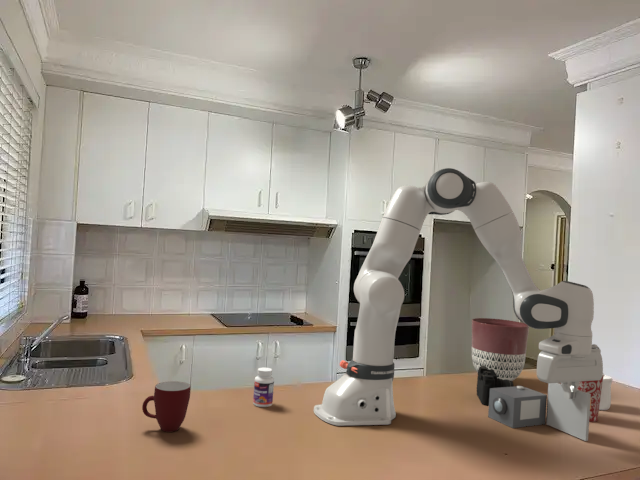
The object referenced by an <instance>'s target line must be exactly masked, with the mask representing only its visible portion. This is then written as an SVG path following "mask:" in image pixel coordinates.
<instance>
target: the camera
mask: <svg viewBox="0 0 640 480" xmlns="http://www.w3.org/2000/svg"><path fill="white" fill-rule="evenodd" d="M501 387H514V381H510V380H506V379H504V380H502V379H500V378H497V375H496V373H495V371H494V370H493V369H489V370H488V368H487V367H486V366H484V365H481V366H480V367H479V370H478V372H477V381H476V396H477V397H478V399H479V401H480V403H481V405H482V406H485V407H489V395H490V388H501Z"/></svg>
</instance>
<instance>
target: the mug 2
mask: <svg viewBox="0 0 640 480" xmlns="http://www.w3.org/2000/svg"><path fill="white" fill-rule="evenodd" d="M604 375H605V373H603V376H602V378H601V380H596V381H580V382H579V386H578V388H577V390H580V391H583V392H586V393H589V394H591V409H590V416H589V423H591V422H598V420H599V412H600V410H599V405H600V398H601V390H602V383H603V377H604ZM559 384H561V383H559Z"/></svg>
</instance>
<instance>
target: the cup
mask: <svg viewBox="0 0 640 480" xmlns="http://www.w3.org/2000/svg"><path fill="white" fill-rule="evenodd" d="M612 383H613V377H611V376H609V375H606V374H604V377H603V383H602V390H601V398H600V405H599V411H607V410H609V409H610V407H611V405H612V391H611V390H612Z"/></svg>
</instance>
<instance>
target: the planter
mask: <svg viewBox="0 0 640 480" xmlns="http://www.w3.org/2000/svg"><path fill="white" fill-rule="evenodd" d="M529 331H530V327H529V326H528V325H526V324H525V323H523V322H521V321H514V320H509V319H502V318H501V319H500V318H491V317H490V318H489V317H488V318H487V317H481V318H480V317H476V318H472V319H471V359H472V365H473V367H474V369H475V371H476V372H477V373H478V370H479V367H480V366H481V365H484V366H486V367H487V368H488V370H489V369H493V370H494V371H495V373H496V375H497V378H500V379H502V380H504V379H506V380H510V381H512V382H514V381H515V380H516V379H517V378H518V377H519V376H520V375H521V374H522V371H523V369H524V366H525V362H526V354H527V348H528V347H527V346H528V338H529V333H530V332H529Z"/></svg>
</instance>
